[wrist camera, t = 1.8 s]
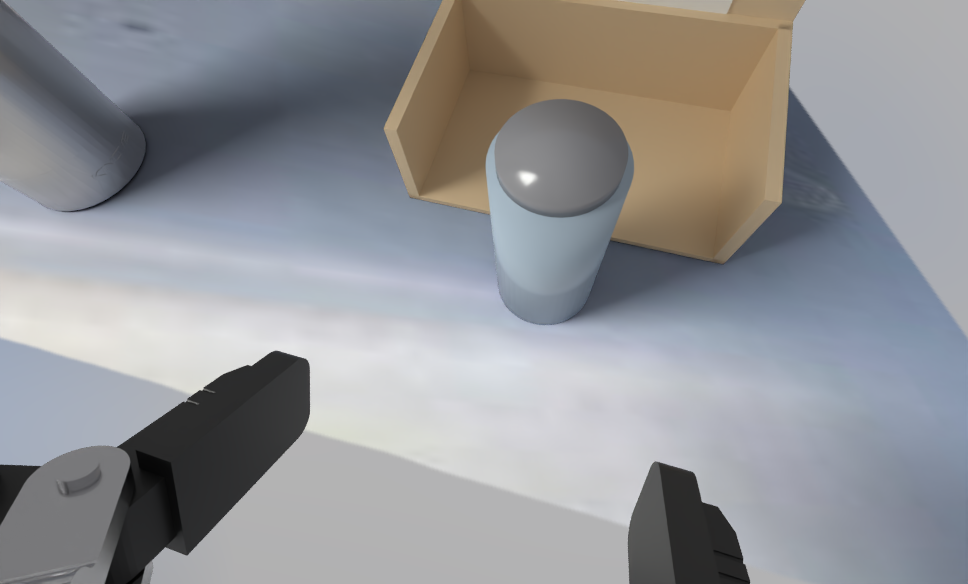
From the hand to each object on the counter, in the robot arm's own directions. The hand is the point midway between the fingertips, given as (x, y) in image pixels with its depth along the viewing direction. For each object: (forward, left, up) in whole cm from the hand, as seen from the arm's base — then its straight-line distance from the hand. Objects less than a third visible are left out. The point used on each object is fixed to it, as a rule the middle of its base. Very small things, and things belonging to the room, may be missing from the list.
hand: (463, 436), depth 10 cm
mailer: (0, +22, -17) cm, 28 cm away
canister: (0, +12, -17) cm, 20 cm away
